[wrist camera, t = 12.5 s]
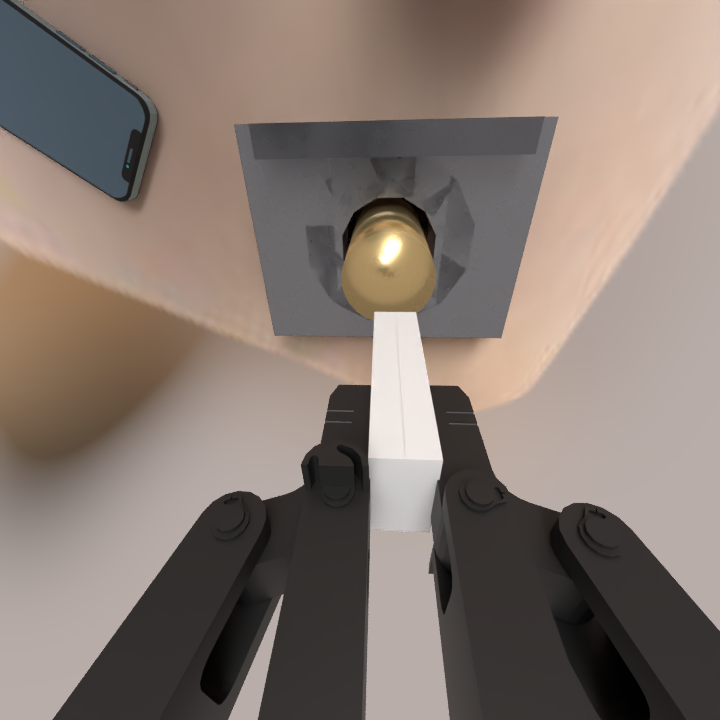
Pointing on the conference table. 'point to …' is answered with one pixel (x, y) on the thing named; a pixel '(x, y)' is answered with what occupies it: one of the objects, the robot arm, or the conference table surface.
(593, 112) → the conference table surface
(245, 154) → the jig
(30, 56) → the smartphone
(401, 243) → the brass cylinder rod
